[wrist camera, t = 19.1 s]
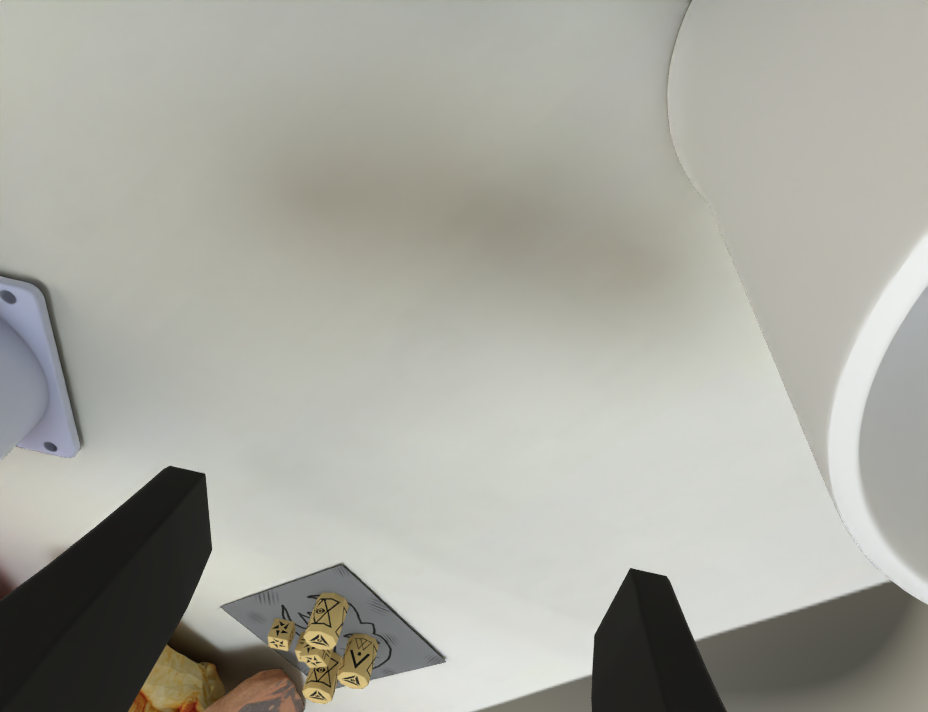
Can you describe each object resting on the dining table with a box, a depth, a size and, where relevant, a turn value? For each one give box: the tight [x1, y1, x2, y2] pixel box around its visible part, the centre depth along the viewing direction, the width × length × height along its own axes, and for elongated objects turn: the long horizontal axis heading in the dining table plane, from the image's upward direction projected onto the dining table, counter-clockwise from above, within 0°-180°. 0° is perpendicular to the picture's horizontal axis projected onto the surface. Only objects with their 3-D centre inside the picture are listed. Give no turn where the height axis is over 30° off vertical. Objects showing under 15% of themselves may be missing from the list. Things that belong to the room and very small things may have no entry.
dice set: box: [267, 593, 379, 704], centre depth 31 cm, size 5×5×2 cm
